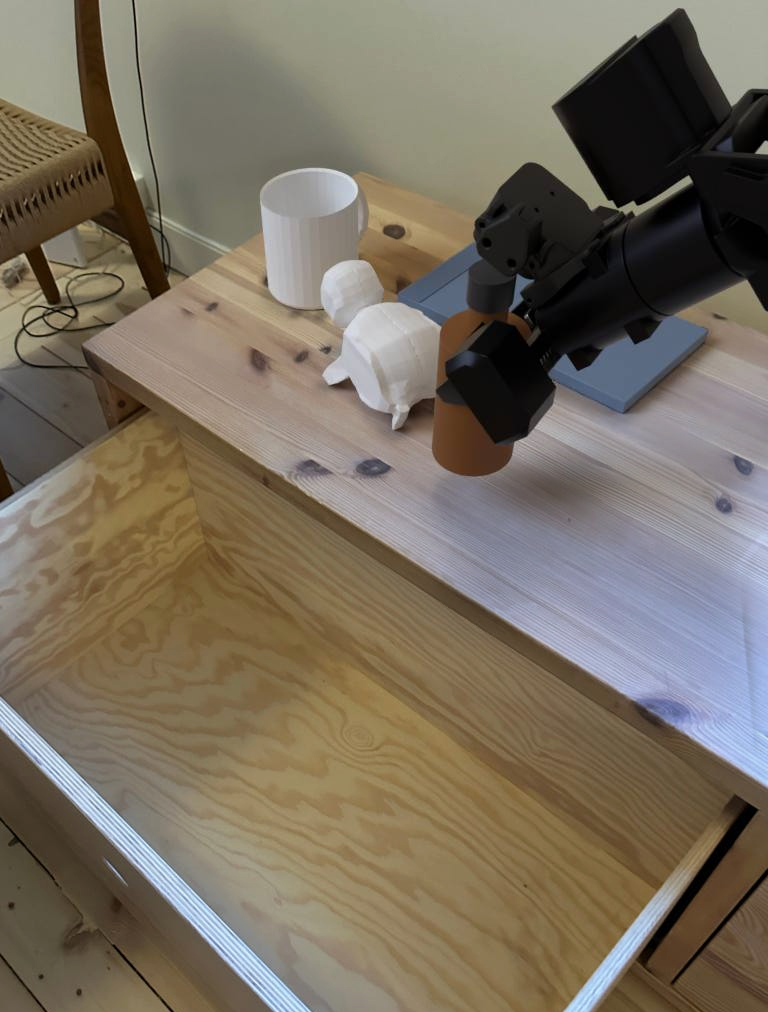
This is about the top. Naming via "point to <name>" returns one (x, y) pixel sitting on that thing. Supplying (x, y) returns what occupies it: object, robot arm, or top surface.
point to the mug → (309, 231)
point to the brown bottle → (455, 426)
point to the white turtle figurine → (379, 342)
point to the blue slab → (607, 380)
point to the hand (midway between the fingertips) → (463, 370)
